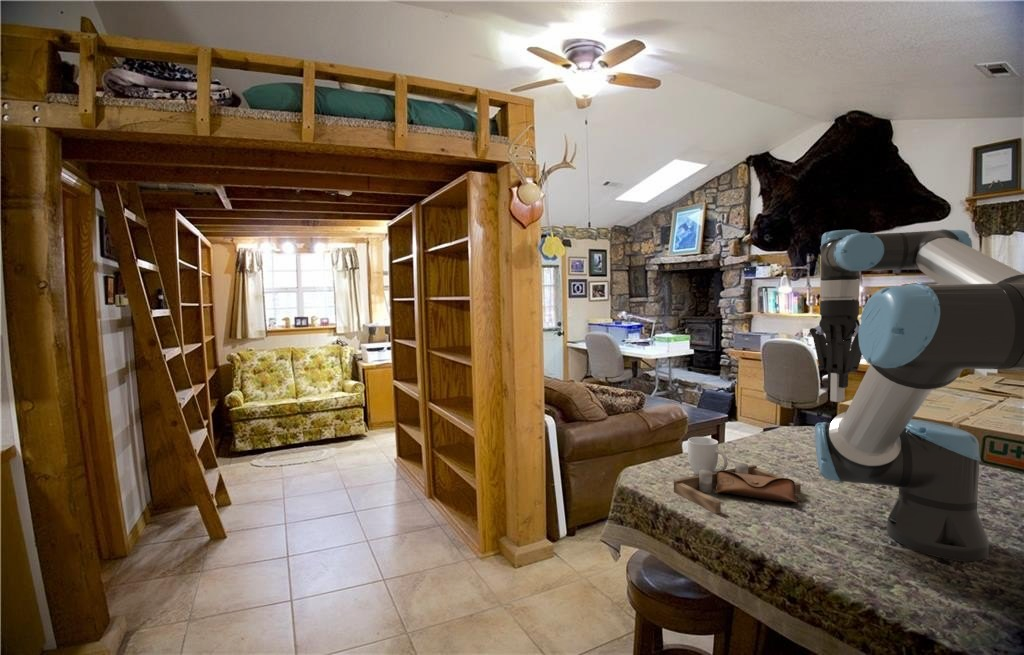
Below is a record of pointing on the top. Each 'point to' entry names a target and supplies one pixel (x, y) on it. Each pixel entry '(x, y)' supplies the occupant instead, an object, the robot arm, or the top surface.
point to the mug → (704, 454)
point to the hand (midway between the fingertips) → (837, 400)
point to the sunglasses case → (756, 486)
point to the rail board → (708, 479)
